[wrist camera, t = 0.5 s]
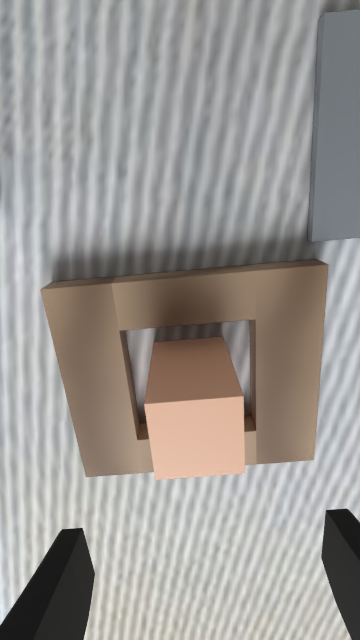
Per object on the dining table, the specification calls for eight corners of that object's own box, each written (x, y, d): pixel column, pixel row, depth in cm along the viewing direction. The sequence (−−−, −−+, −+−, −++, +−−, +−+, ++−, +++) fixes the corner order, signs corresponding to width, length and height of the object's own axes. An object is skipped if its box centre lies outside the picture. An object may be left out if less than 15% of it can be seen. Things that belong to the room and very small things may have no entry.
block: (223, 336, 19) (243, 396, 13) (225, 395, 20) (245, 473, 15) (153, 342, 19) (143, 404, 13) (160, 401, 20) (155, 479, 15)
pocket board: (316, 258, 17) (328, 264, 16) (304, 442, 21) (314, 460, 20) (51, 282, 17) (40, 289, 16) (91, 458, 22) (86, 477, 20)
